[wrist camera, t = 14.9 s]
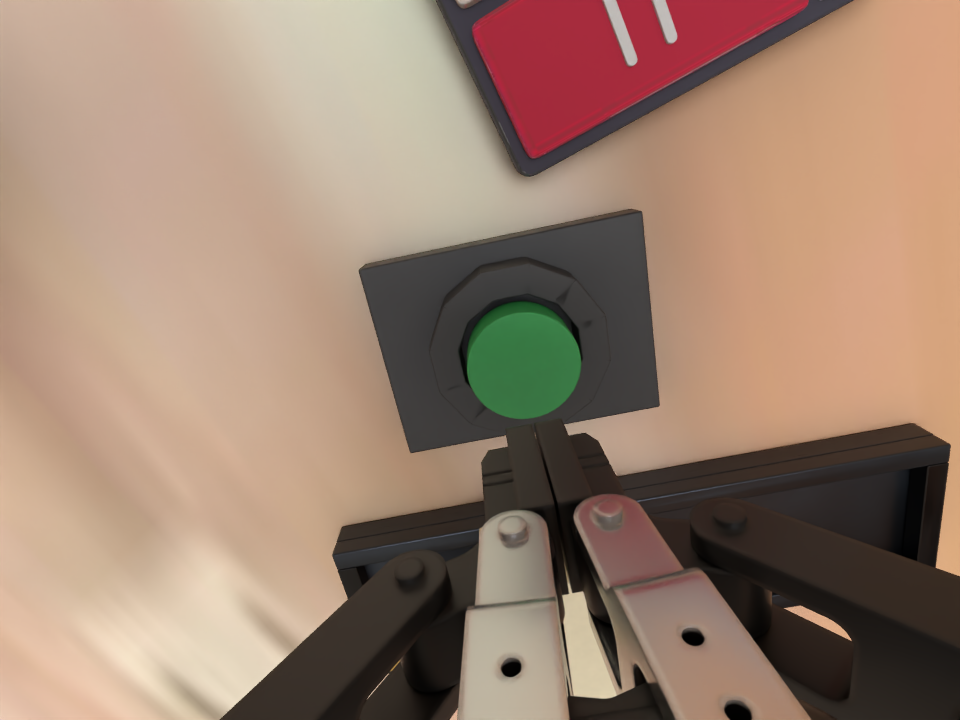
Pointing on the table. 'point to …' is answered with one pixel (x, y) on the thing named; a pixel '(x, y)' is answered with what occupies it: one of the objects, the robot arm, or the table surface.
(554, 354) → the button
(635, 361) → the button box
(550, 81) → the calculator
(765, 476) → the rail
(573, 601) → the nozzle carriage
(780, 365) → the table surface
